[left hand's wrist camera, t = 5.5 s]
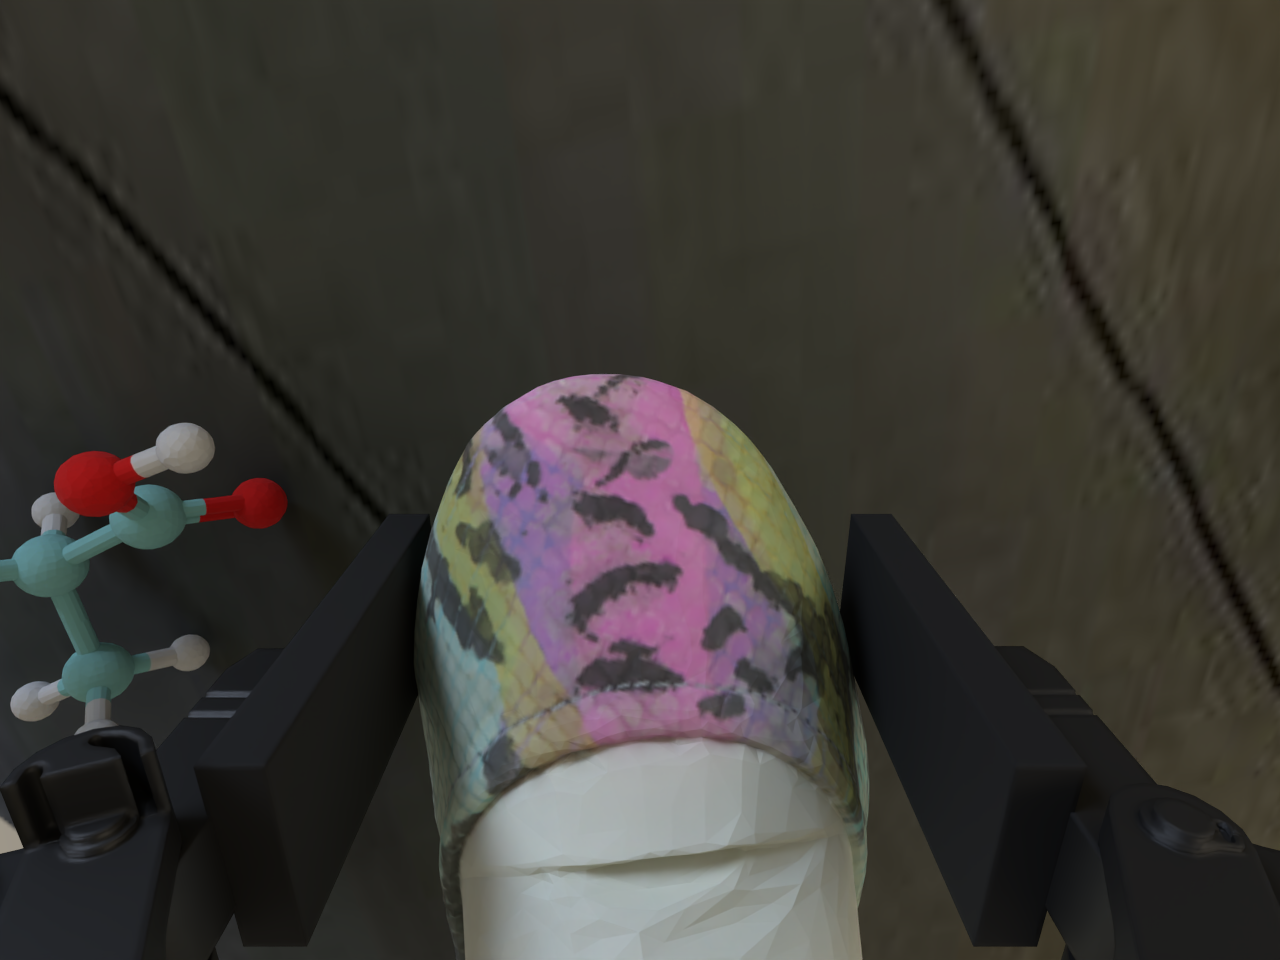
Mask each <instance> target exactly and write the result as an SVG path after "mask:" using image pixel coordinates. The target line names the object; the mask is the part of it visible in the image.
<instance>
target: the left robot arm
mask: <svg viewBox="0 0 1280 960" xmlns="http://www.w3.org/2000/svg"><path fill="white" fill-rule="evenodd" d="M430 533H431V525H430V516H429V514H389V515H388V516H387V518H386V519H385V520H384V521H383V523H382V524H381V525H380V527H379V528H378V529H377V530H376V532H375V533H374V534H373V536H372V537H371V538H370V539H369V541H368V542H367V543H366V545H365V546H364V547H363V548H362V550H361V551H360V552H359V554H358V555H357V556H356V558H355V559H354V560H353V561H352V563H351V564H350V565H349V567H348V568H347V569H346V570H345V572H344V573H343V574H342V576H341V577H340V578H339V579H338V581H337V582H336V583H335V585H334V586H333V587H332V588H331V590H330V591H329V592H328V594H327V595H326V596H325V597H324V599H323V600H322V601H321V603H320V604H319V605H318V606H317V608H316V609H315V610H314V612H313V613H312V614H311V615H310V617H309V618H308V619H307V621H306V622H305V623H304V624H303V626H302V627H301V628H300V630H299V631H298V632H297V633H296V635H295V636H294V637H293V639H292V640H291V641H290V642H289V644H288V645H287V646H286V648H285V649H256V650H255V651H253V652H252V653H250V654H249V655H247V656H246V657H244V658H243V659H241V660H240V661H238V662H237V663H235V664H233V665H232V666H230V667H229V668H227V669H226V670H225V671H224V673H223V674H222V675H221V676H220V677H219V678H218V680H217V681H216V682H215V683H214V684H213V685H212V686H211V688H210V689H209V690H208V691H207V692H206V697H205V698H201V699H200V700H199V701H198V703H197V704H196V705H195V706H194V707H193V708H192V710H191V711H190V712H189V717H188V718H184V719H183V720H182V721H181V722H180V723H179V725H178V726H177V727H176V728H175V729H174V730H173V732H172V733H171V734H170V735H169V736H168V737H167V738H166V740H165V741H164V742H163V743H162V744H161V745H160V747H159V748H158V749H157V750H156V749H155V746H154V743H153V739H152V737H151V736H150V735H149V734H147V733H146V732H144V731H143V730H142V729H140V728H135V727H128V726H120V725H119V726H111V727H104V728H96V729H91V730H88V731H85V732H82V733H79V734H76V735H73V736H69V737H66V738H64V739H62V740H60V741H58V742H56V743H54V744H52V745H50V746H48V747H46V748H44V749H42V750H40V751H38V752H36V753H35V754H34V755H32V756H31V757H30V758H28V759H27V760H26V761H24V762H23V763H22V764H20V765H19V766H18V767H16V768H15V769H14V770H13V771H12V772H11V774H10V775H9V776H8V777H7V779H6V780H5V781H4V783H3V784H2V785H1V786H0V791H1V794H2V796H3V799H4V801H5V803H6V806H7V808H8V811H9V813H10V816H11V818H12V821H13V823H14V826H15V828H16V830H17V833H18V835H19V838H20V840H21V843H22V845H23V849H19V850H15V851H11V852H7V853H2V854H0V960H219V959H218V955H217V952H216V949H215V946H216V944H217V942H218V940H219V939H220V937H221V935H222V933H223V931H224V930H225V928H226V926H227V924H228V923H229V921H230V919H231V917H232V915H233V914H235V918H236V921H237V925H238V928H239V932H240V935H241V939H242V943H243V946H307V945H308V943H309V941H310V938H311V936H312V934H313V932H314V929H315V927H316V925H317V922H318V920H319V918H320V916H321V913H322V911H323V909H324V907H325V904H326V902H327V900H328V898H329V895H330V893H331V891H332V888H333V886H334V884H335V882H336V879H337V877H338V875H339V873H340V870H341V868H342V866H343V864H344V861H345V859H346V857H347V854H348V852H349V850H350V848H351V845H352V843H353V841H354V839H355V836H356V834H357V832H358V829H359V827H360V825H361V823H362V820H363V818H364V816H365V814H366V811H367V809H368V807H369V805H370V802H371V800H372V798H373V795H374V793H375V791H376V789H377V786H378V784H379V782H380V780H381V777H382V775H383V773H384V771H385V768H386V766H387V764H388V761H389V759H390V757H391V755H392V752H393V750H394V748H395V746H396V743H397V741H398V739H399V737H400V734H401V732H402V730H403V727H404V725H405V723H406V721H407V718H408V716H409V714H410V712H411V709H412V707H413V705H414V703H415V700H416V698H417V696H418V688H417V684H416V678H415V671H414V630H415V619H416V609H417V599H418V592H419V585H420V578H421V571H422V566H423V562H424V558H425V553H426V549H427V545H428V541H429V537H430ZM840 614H841V618H842V621H843V624H844V629H845V633H846V638H847V643H848V647H849V652H850V656H851V662H852V667H853V673H854V676H855V679H856V681H857V683H858V685H859V688H860V690H861V692H862V695H863V697H864V699H865V701H866V704H867V706H868V708H869V710H870V713H871V715H872V717H873V719H874V722H875V724H876V726H877V729H878V731H879V733H880V735H881V738H882V740H883V742H884V744H885V747H886V749H887V751H888V753H889V756H890V758H891V760H892V763H893V765H894V767H895V769H896V772H897V774H898V776H899V778H900V781H901V783H902V785H903V787H904V790H905V792H906V794H907V797H908V799H909V801H910V803H911V806H912V808H913V810H914V812H915V815H916V817H917V819H918V821H919V824H920V826H921V828H922V831H923V833H924V835H925V837H926V840H927V842H928V844H929V846H930V849H931V851H932V853H933V855H934V858H935V860H936V862H937V865H938V867H939V869H940V871H941V874H942V876H943V878H944V880H945V883H946V885H947V887H948V890H949V892H950V894H951V896H952V899H953V901H954V903H955V905H956V908H957V910H958V912H959V914H960V917H961V919H962V921H963V924H964V926H965V928H966V930H967V933H968V935H969V937H970V939H971V942H972V944H973V946H1027V947H1037V945H1038V941H1039V938H1040V934H1041V930H1042V927H1043V923H1044V920H1045V916H1046V913H1047V911H1048V912H1049V914H1050V916H1051V918H1052V920H1053V921H1054V923H1055V925H1056V927H1057V928H1058V930H1059V932H1060V934H1061V935H1062V937H1063V939H1064V941H1065V943H1066V945H1065V949H1064V952H1063V955H1062V959H1061V960H1280V851H1279V850H1274V849H1270V848H1266V847H1262V846H1259V845H1255V844H1252V843H1251V841H1250V840H1249V838H1248V837H1247V835H1246V834H1245V832H1244V831H1243V829H1241V828H1240V827H1239V826H1238V825H1237V824H1236V823H1234V822H1233V821H1232V820H1231V819H1230V818H1229V817H1227V816H1226V815H1225V814H1224V813H1223V812H1221V811H1220V810H1218V809H1217V808H1215V807H1213V806H1211V805H1209V804H1208V803H1206V802H1204V801H1202V800H1201V799H1199V798H1197V797H1195V796H1193V795H1190V794H1188V793H1185V792H1182V791H1179V790H1176V789H1174V788H1171V787H1168V786H1162V785H1157V784H1156V783H1155V781H1154V780H1153V779H1152V778H1151V777H1150V776H1149V774H1148V773H1147V772H1146V771H1145V770H1144V769H1143V768H1142V766H1141V765H1140V764H1139V763H1138V762H1137V761H1136V760H1135V758H1134V757H1133V756H1132V755H1131V754H1130V753H1129V752H1128V750H1127V749H1126V748H1125V747H1124V746H1123V745H1122V744H1121V742H1120V741H1119V740H1118V739H1117V738H1116V737H1115V735H1114V734H1113V733H1112V732H1111V731H1110V730H1109V729H1108V727H1107V726H1106V725H1105V724H1104V723H1103V722H1102V721H1101V719H1100V718H1099V717H1098V716H1097V715H1093V713H1092V709H1091V708H1090V707H1089V706H1088V704H1087V703H1086V702H1085V701H1084V700H1083V699H1082V698H1081V696H1080V695H1076V694H1075V690H1074V688H1073V687H1072V686H1071V685H1070V684H1069V683H1068V682H1067V680H1066V679H1065V678H1064V677H1063V676H1062V675H1061V673H1060V672H1059V671H1058V670H1057V669H1056V668H1055V667H1054V666H1053V665H1051V664H1050V663H1048V662H1047V661H1045V660H1044V659H1042V658H1040V657H1039V656H1037V655H1036V654H1034V653H1033V652H1031V651H1030V650H1028V649H1027V648H1025V647H1024V646H993V644H992V643H991V642H990V640H989V639H988V638H987V637H986V635H985V634H984V633H983V631H982V630H981V629H980V628H979V626H978V625H977V624H976V622H975V621H974V620H973V619H972V617H971V616H970V615H969V613H968V612H967V611H966V610H965V608H964V607H963V606H962V604H961V603H960V602H959V601H958V599H957V598H956V597H955V595H954V594H953V593H952V592H951V590H950V589H949V588H948V586H947V585H946V584H945V583H944V581H943V580H942V579H941V577H940V576H939V575H938V573H937V572H936V571H935V570H934V568H933V567H932V566H931V564H930V563H929V562H928V561H927V559H926V558H925V557H924V555H923V554H922V553H921V552H920V550H919V549H918V548H917V546H916V545H915V544H914V543H913V541H912V540H911V539H910V537H909V536H908V535H907V534H906V532H905V531H904V530H903V528H902V527H901V526H900V525H899V523H898V522H897V521H896V519H895V518H894V517H893V516H892V514H851V521H850V530H849V538H848V547H847V556H846V565H845V573H844V582H843V591H842V600H841V608H840Z"/></svg>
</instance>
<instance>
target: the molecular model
mask: <svg viewBox="0 0 1280 960" xmlns="http://www.w3.org/2000/svg"><path fill="white" fill-rule="evenodd" d="M214 452H215V446H214V441H213V439H212V437H211V436H210V434H209V433H208V432H207V431H206V430H204V429H203V428H202V427H200V426H197V425H195V424H192V423H179V424H175V425H171V426H169V427H168V428H166V429H165V430H164V431H163V432H161V433H160V435H159V436H158V438H157V441H156V446H154V447H152V448H149V449H147V450H144V451H142V452H139V453H137V454H134V455H132V456H129V457H127V458H124V459H120V458H119V457H117V456H115V455H112V454H110V453H107V452H101V451H90V452H84V453H81V454H77V455H74V456H72V457H71V458H70V459H68V460H67V461H66V462H64V463H63V464H62V465H60V467H59V469H58V470H57V472H56V475H55V479H54V489H55V492H53V493H48V494H45V495H42V496H41V497H40V498H38V499H37V500H36V501H35V502H34V504H33V506H32V518H33V520H34V521H35V523H36V524H38V525H39V526H40V527H42V530H41V536H38V537H35V538H32V539H30V540H28V541H27V542H25V543H24V544H23V545H22V546H20V547H19V548H18V549H17V550H16V551H15V553H14V555H13V557H12V559H7V560H0V582H3V581H11V580H13V581H14V582H15V584H16V585H17V586H18V587H19V588H21V589H22V590H23V591H25V592H27V593H29V594H32V595H35V596H40V597H51V599H52V601H53V603H54V605H55V607H56V610H57V612H58V614H59V616H60V618H61V620H62V623H63V625H64V627H65V629H66V631H67V633H68V636H69V638H70V640H71V642H72V644H73V646H74V648H75V651H76V652H75V653H74V654H73V655H72V656H71V657H70V658H69V660H68V661H67V662H66V664H65V666H64V668H63V672H62V679H60V680H58V681H55V682H53V683H51V684H50V683H47V682H40V681H37V682H31V683H28V684H26V685H24V686H23V687H21V688H20V689H18V690H17V691H16V693H15V694H14V695H13V697H12V699H11V710H12V712H13V714H14V715H15V716H16V717H17V718H19V719H21V720H24V721H38V720H41V719H43V718H45V717H47V716H49V715H51V714H52V713H53V712H54V710H55V709H56V708H57V707H58V705H59V701H61V700H63V699H65V698H67V697H70V696H72V697H73V698H75V699H77V700H79V701H82V702H86V708H85V724H84V725H83V726H82V727H80V728H79V729H78V730H77V732H76V733H75V734H74V735H76V734H79V733H82V732H85V731H88V730H91V729H96V728H104V727H111V726H119V725H118V724H116V723H115V722H113V721H111V699H112V698H114V697H116V696H118V695H120V694H121V693H122V692H123V691H124V690H125V689H126V688H127V687H128V685H129V684H130V683H131V681H132V679H133V676H134V674H138V673H143V672H147V671H151V670H156V669H160V668H165V667H169V666H174V667H175V668H176V669H179V670H181V671H191V670H195V669H197V668H199V667H201V666H202V665H203V664H204V663H205V662H206V660H207V659H208V657H209V654H210V647H209V644H208V642H207V641H206V640H205V639H204V638H202V637H201V636H198V635H185V636H182V637H180V638H178V639H176V640H175V641H174V642H173V644H172V645H171V647H170V648H165V649H161V650H156V651H151V652H146V653H142V654H137V655H132V656H131V655H130V653H129V652H128V651H127V650H125V649H124V648H123V647H121V646H119V645H116V644H113V643H104V642H101V643H99V640H98V638H97V636H96V634H95V631H94V629H93V627H92V625H91V622H90V620H89V618H88V616H87V613H86V611H85V609H84V607H83V604H82V602H81V600H80V598H79V595H78V593H77V591H76V589H75V588H76V587H78V586H79V585H80V584H81V583H82V582H83V580H84V579H85V578H86V576H87V574H88V572H89V566H90V561H89V558H91V557H93V556H95V555H98V554H100V553H102V552H104V551H106V550H107V549H109V548H111V547H113V546H116V545H118V544H120V543H122V542H124V543H125V544H127V545H130V546H132V547H134V548H139V549H156V548H160V547H163V546H165V545H167V544H169V543H171V542H173V541H174V540H175V539H176V538H177V537H178V536H179V535H180V534H181V532H182V531H183V530H184V527H185V525H186V524H191V523H198V522H206V521H213V520H221V519H229V518H236V519H237V520H238V521H239V522H240V523H242V524H243V525H245V526H248V527H250V528H267V527H269V526H271V525H274V524H276V523H277V522H278V521H279V520H280V519H281V518H282V516H283V515H284V513H285V512H286V509H287V503H288V502H287V496H286V494H285V492H284V490H283V489H282V488H281V486H279V485H278V484H277V483H275V482H274V481H271V480H269V479H266V478H254V479H250V480H247V481H245V482H243V483H241V484H240V485H239V486H238V487H237V488H236V489H235V491H234V492H233V494H232V495H231V496H223V497H214V498H206V499H194V500H186V501H182V500H181V499H180V498H179V497H178V495H176V494H175V493H174V492H172V491H171V490H169V489H167V488H164V487H162V486H158V485H149V484H148V485H141V486H136V487H135V482H137V481H140V480H142V479H145V478H147V477H150V476H152V475H155V474H157V473H160V472H162V471H165V470H167V469H170V470H172V471H175V472H178V473H185V474H186V473H193V472H197V471H199V470H202V469H203V468H205V467H206V466H207V465H208V464H209V463H210V461H211V460H212V458H213V457H214ZM109 514H110V515H109ZM79 515H83V516H90V517H101V516H106V515H109V521H110V524H109V525H107V526H105V527H103V528H101V529H99V530H97V531H95V532H93V533H91V534H89V535H87V536H85V537H83V538H81V539H79V540H77V541H76V540H74V539H72V538H69V537H67V536H66V535H67V528H69V527H70V526H72V525H73V524H74V523H75V522H76V521H77V519H78V518H79Z"/></svg>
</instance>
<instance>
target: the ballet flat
mask: <svg viewBox="0 0 1280 960" xmlns="http://www.w3.org/2000/svg"><path fill="white" fill-rule="evenodd" d="M414 671H415V678H416V684H417V688H418V695H419V702H420V709H421V717H422V723H423V729H424V735H425V741H426V747H427V753H428V759H429V766H430V777H431V782H432V791H433V802H434V811H435V819H436V823H437V827H438V831H439V835H440V849H439V871H440V879H441V887H442V890H443V903H444V905H445V907H446V918H447V920H448V923H449V928H450V932H451V936H452V939H453V942H454V948H455V954H456V960H862V952H861V942H860V932H859V922H858V912H857V909H858V905H859V901H860V897H861V892H862V887H863V883H864V878H865V873H866V862H867V833H866V826H867V820H868V808H869V793H870V777H869V762H868V753H867V746H866V739H865V733H864V727H863V721H862V716H861V710H860V705H859V699H858V694H857V689H856V684H855V679H854V673H853V667H852V662H851V656H850V652H849V647H848V643H847V638H846V633H845V629H844V624H843V621H842V618H841V614H840V611H839V608H838V605H837V601H836V598H835V595H834V592H833V588H832V585H831V582H830V580H829V577H828V574H827V572H826V569H825V567H824V564H823V562H822V559H821V557H820V554H819V552H818V549H817V547H816V545H815V543H814V541H813V539H812V537H811V536H810V534H809V532H808V530H807V528H806V526H805V525H804V523H803V521H802V519H801V517H800V515H799V514H798V512H797V510H796V508H795V506H794V505H793V503H792V501H791V500H790V498H789V496H788V495H787V493H786V491H785V490H784V488H783V486H782V485H781V483H780V481H779V480H778V478H777V476H776V474H775V473H774V471H773V469H772V468H771V466H770V465H769V464H768V462H767V461H766V460H765V458H764V457H763V456H762V454H761V453H760V452H759V451H758V449H757V448H756V447H755V446H754V444H753V443H752V442H751V441H750V440H749V438H748V437H747V436H746V435H745V434H744V433H743V432H742V431H741V430H740V429H739V428H738V427H737V426H736V425H735V424H734V423H732V422H731V421H730V420H729V419H727V418H726V417H725V416H724V415H722V414H721V413H720V412H719V411H717V410H716V409H715V408H714V407H713V406H711V405H709V404H707V403H706V402H704V401H702V400H701V399H699V398H697V397H696V396H694V395H692V394H691V393H689V392H687V391H685V390H682V389H679V388H676V387H673V386H671V385H668V384H665V383H662V382H659V381H656V380H652V379H648V378H645V377H638V376H630V375H620V374H590V375H581V376H573V377H569V378H565V379H560V380H556V381H553V382H550V383H547V384H545V385H542V386H539V387H537V388H535V389H534V390H532V391H530V392H528V393H527V394H525V395H523V396H522V397H520V398H518V399H517V400H515V401H513V402H512V403H510V404H508V405H507V406H505V407H503V408H502V409H501V410H500V411H499V412H498V413H497V414H496V415H495V416H494V417H493V418H491V419H490V420H489V421H488V422H487V423H486V424H484V426H483V427H482V428H481V429H480V430H479V431H478V432H477V433H476V434H475V435H474V437H473V438H472V439H471V440H470V441H469V443H468V444H467V446H466V448H465V450H464V452H463V454H462V456H461V458H460V460H459V461H458V463H457V465H456V467H455V469H454V471H453V473H452V475H451V478H450V480H449V482H448V485H447V487H446V490H445V493H444V496H443V499H442V501H441V504H440V507H439V510H438V513H437V515H436V518H435V521H434V524H433V527H432V529H431V533H430V537H429V541H428V545H427V549H426V553H425V558H424V562H423V566H422V571H421V578H420V585H419V592H418V599H417V609H416V619H415V630H414Z"/></svg>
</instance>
